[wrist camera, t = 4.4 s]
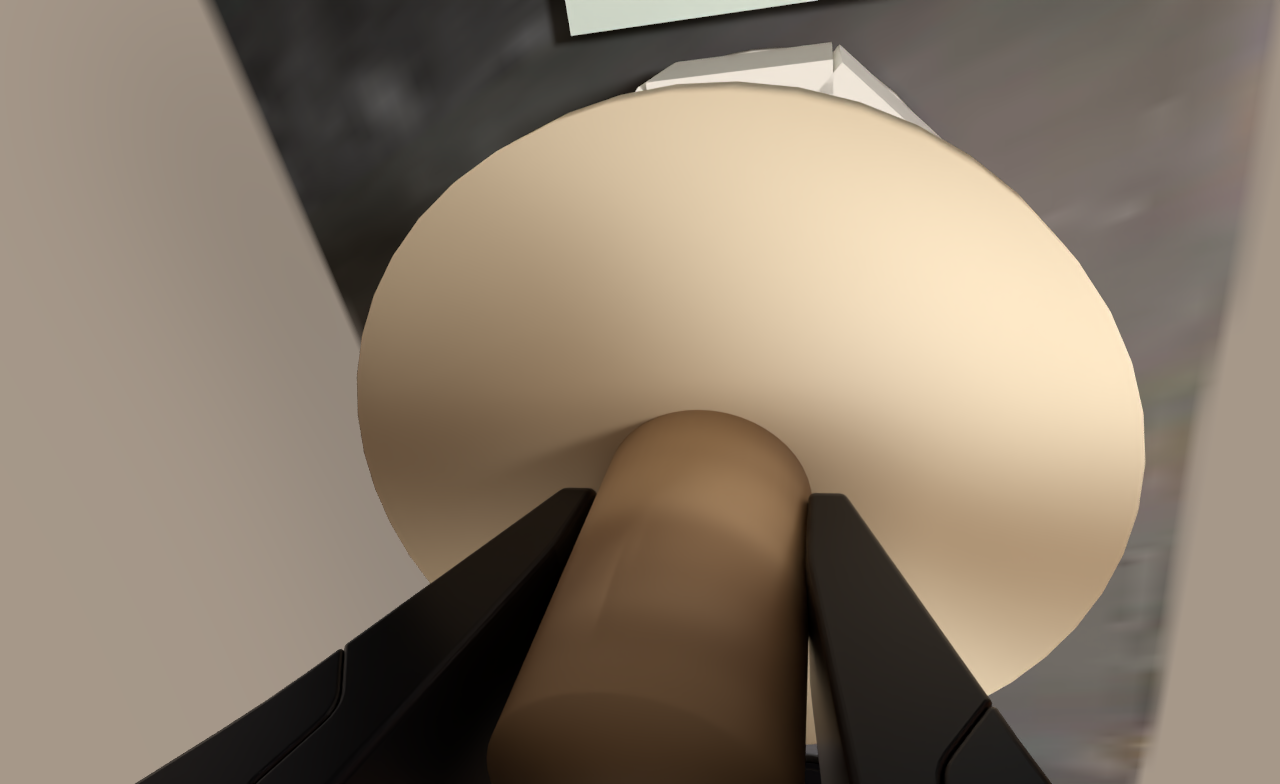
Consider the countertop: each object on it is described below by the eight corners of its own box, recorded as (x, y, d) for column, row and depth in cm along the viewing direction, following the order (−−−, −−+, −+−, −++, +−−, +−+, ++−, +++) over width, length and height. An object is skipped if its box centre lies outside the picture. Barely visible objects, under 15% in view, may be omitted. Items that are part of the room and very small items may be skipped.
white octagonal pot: (935, 377, 19) (959, 464, 16) (627, 382, 21) (590, 460, 18) (958, 22, 15) (995, 39, 12) (576, 72, 17) (516, 98, 14)
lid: (1058, 730, 11) (1192, 1174, 7) (476, 673, 13) (324, 979, 9) (1209, 22, 6) (1852, 116, 2) (289, 128, 9) (-161, 266, 5)
